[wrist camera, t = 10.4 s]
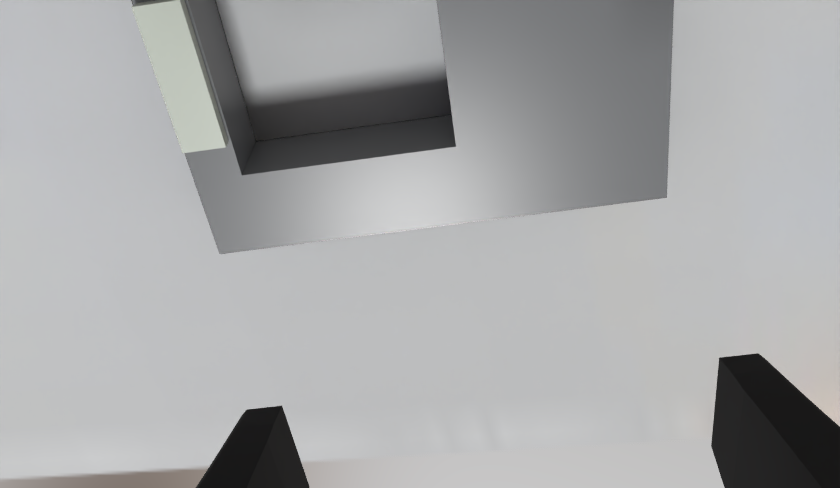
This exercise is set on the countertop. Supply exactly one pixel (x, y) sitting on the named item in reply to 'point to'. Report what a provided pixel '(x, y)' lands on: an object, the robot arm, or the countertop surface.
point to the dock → (433, 125)
